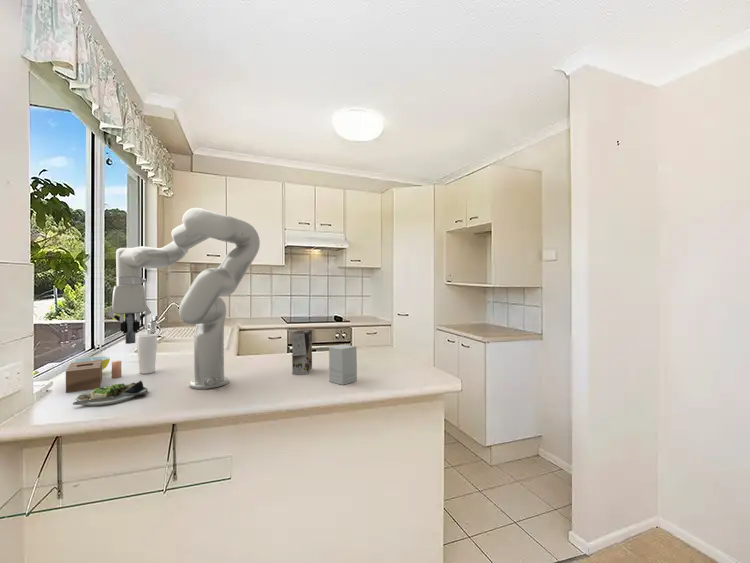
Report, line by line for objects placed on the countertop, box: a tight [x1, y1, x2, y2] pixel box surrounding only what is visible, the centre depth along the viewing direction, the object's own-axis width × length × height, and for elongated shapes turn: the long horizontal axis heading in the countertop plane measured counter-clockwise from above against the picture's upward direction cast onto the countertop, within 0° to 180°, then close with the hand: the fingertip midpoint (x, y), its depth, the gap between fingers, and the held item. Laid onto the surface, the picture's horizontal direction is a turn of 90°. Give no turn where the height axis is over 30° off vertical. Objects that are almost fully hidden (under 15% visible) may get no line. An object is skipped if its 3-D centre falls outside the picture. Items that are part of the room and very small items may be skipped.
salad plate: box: [72, 380, 149, 407], centre depth 112 cm, size 19×18×5 cm
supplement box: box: [328, 344, 358, 386], centre depth 130 cm, size 7×7×13 cm
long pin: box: [124, 313, 137, 345], centre depth 130 cm, size 3×3×12 cm
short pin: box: [111, 360, 122, 379], centre depth 138 cm, size 3×3×6 cm
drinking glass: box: [136, 333, 158, 375], centre depth 144 cm, size 7×7×15 cm
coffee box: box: [291, 329, 313, 375], centre depth 144 cm, size 9×6×16 cm
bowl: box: [72, 356, 111, 371], centre depth 141 cm, size 11×12×6 cm
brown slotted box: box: [65, 359, 103, 393], centre depth 128 cm, size 16×9×7 cm, turn 35°
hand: (130, 332), depth 130 cm, fingers closed on long pin, 3 cm apart
